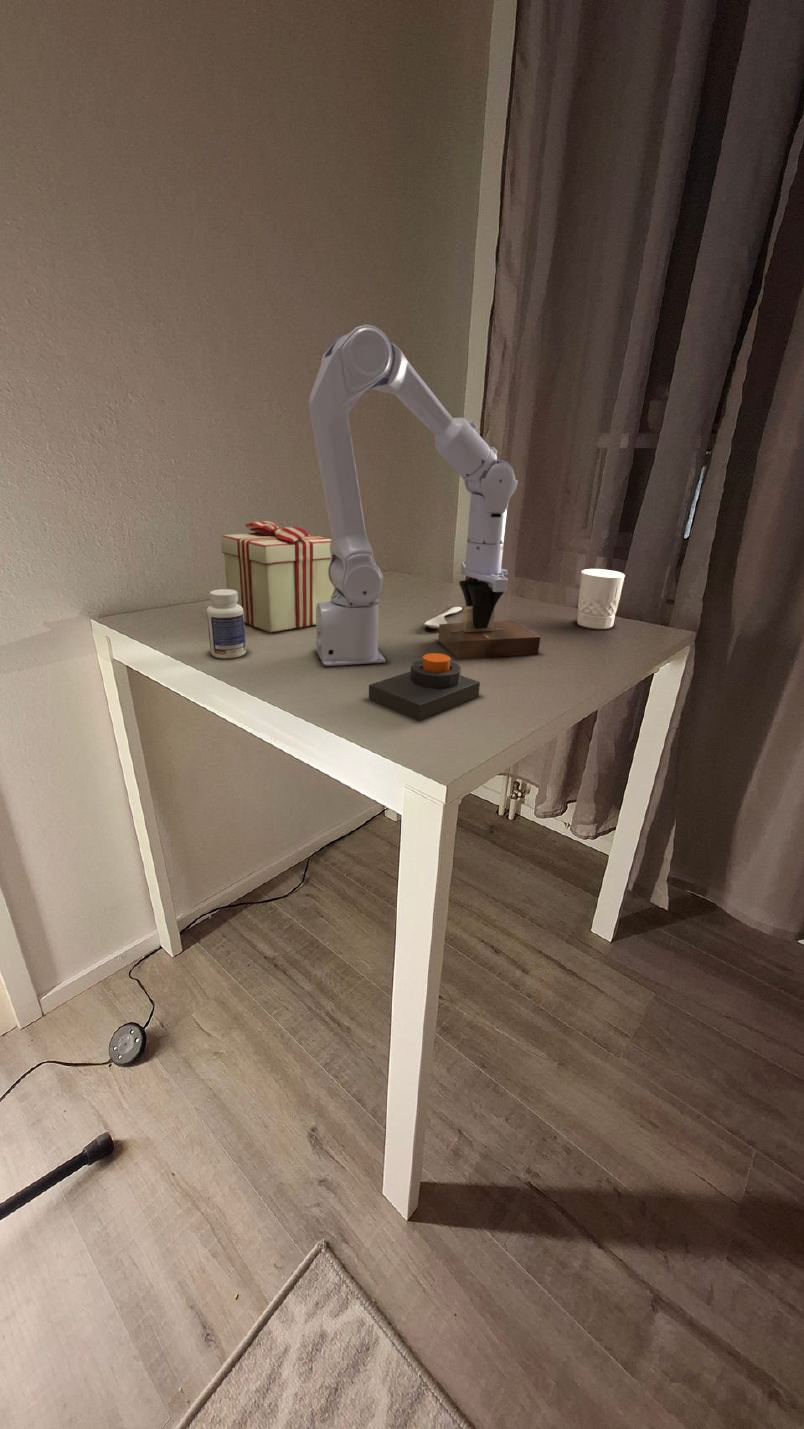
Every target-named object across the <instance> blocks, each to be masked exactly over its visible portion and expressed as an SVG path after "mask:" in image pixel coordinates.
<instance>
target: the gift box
mask: <svg viewBox="0 0 804 1429" xmlns="http://www.w3.org/2000/svg"><path fill="white" fill-rule="evenodd" d="M244 526H245V527H246V528H247V529H248V530H249V531H251V532H249V533H237V534H235V533H233V534H222V535H221V536H220V541H221V542H220V544H221V553H222V554H224V569H225V570H224V571H225V583H226V584H225V585H226V586H225V587H226V589H230V590H235V591H237V594H238V601H237V604H238V605H240V606H241V607H242V608H243V612H244V624H247V625H249V626H251V627H255V628H257V629H260V630H263V631H264V632H268V633H275V632H280V631H281V632H282V631H286V630H292V629H299V628H305V627H310V626H315V625H316V608H317V604H318V603H320V602H328V601H331V596H332V593H333V592H334V590H335V587H334V586H333V585H332V583H331V582H330V579H329V576H328V568H329V565H330V561H331V552H330V543H331V538H327V537H323V536H320V535H319V536H318V535H312V534H311V535H310V534H309V533H308V532H307V531H306V530H305V529H303V528H301V527H299V526H290V527H287V526H285V527H283V528H279V526H278V525H277V524H276V523H275V522H273V521H268V520H262V521H261V520H257V521H251V522H247V523H245V525H244Z"/></svg>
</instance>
